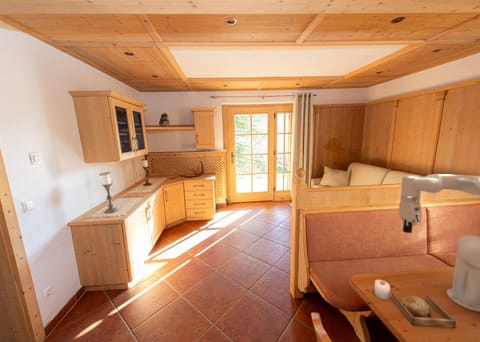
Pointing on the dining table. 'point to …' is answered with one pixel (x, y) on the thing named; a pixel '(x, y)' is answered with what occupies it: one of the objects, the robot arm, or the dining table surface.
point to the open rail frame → (445, 322)
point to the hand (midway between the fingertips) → (407, 232)
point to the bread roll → (416, 306)
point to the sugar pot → (382, 289)
